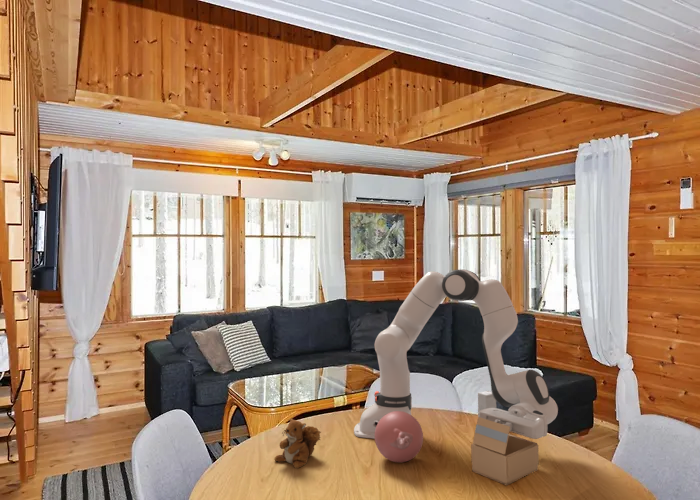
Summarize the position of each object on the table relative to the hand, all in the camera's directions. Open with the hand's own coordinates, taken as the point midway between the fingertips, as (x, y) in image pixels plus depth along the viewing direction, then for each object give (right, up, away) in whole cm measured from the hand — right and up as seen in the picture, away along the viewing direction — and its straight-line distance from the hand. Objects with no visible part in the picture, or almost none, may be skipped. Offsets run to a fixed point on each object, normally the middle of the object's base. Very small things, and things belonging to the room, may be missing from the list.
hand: (495, 427), depth 149 cm
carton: (+4, -14, +3) cm, 15 cm away
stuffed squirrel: (-60, -15, +12) cm, 63 cm away
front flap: (-1, -2, -1) cm, 3 cm away
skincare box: (+10, -15, +44) cm, 48 cm away
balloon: (-28, -14, +8) cm, 32 cm away
